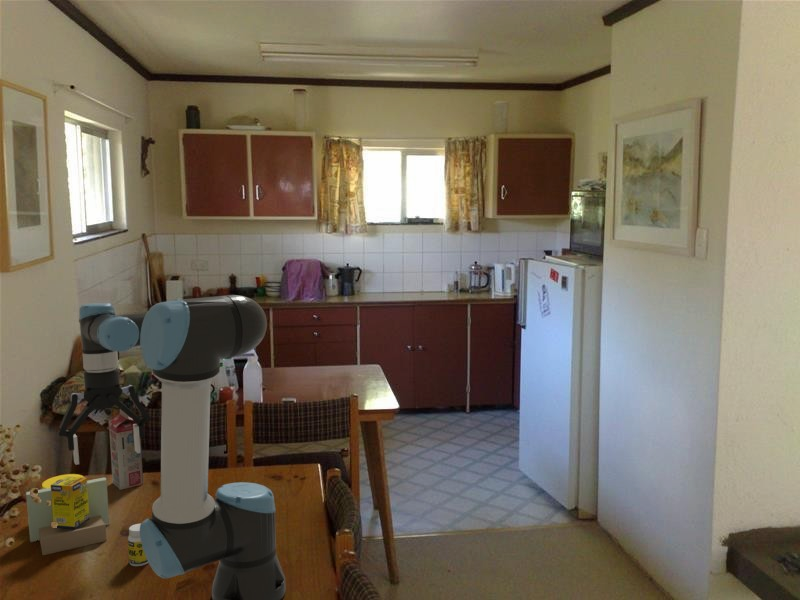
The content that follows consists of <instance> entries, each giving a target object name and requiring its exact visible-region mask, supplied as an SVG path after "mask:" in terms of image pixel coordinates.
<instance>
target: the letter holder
mask: <svg viewBox="0 0 800 600" xmlns="http://www.w3.org/2000/svg"><path fill="white" fill-rule="evenodd" d="M37 490H38V496H39V497H40V499H41V500H42V502H41V503H36V502H34V501H33V499H32V498H31V496H30V491H26V492H25V496H26V507H27V520H28V530H29V542H30V543H33V542H36V541H37V540H38V541H39V542H40V543H39V544H40V549H41V554H42V556H46V555H51V554H54V553H59V552H64V551H68V550H72V549H76V548H82V547H85V546H90V545H93V544H98V543H101V542H102V543H103V542H106V541H108V540H107V539H108V538H107V527H106V526H109V525H111V524H110V512H109V498H108V497H109V495H108V481H107V478H106V476H104V477H99V478H95V479H89V480H88V479H87V490H88V504H89V520H88V521H86V522H85V523H83V524H82V525H80V526H79V527H77V528H76V529H61V528H52V527H51V522H53V511H52V498H51V488H46V489H42V488H41V489H37ZM46 500H50V501H51V505H50V506H48V505H47V502H46Z"/></svg>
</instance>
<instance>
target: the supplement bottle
mask: <svg viewBox="0 0 800 600" xmlns="http://www.w3.org/2000/svg"><path fill="white" fill-rule="evenodd" d="M141 523H142V522H141ZM141 523H136V524H132V525H130V526H129V528H128V534H129V535H128V537H127V550H128V563H129V565H130V566H132V567H142V566H145V565H147V564H149V562H148V560H147V558H146V556H145V553H144V550H143V547H142V543H141V538H140V525H141Z"/></svg>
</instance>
